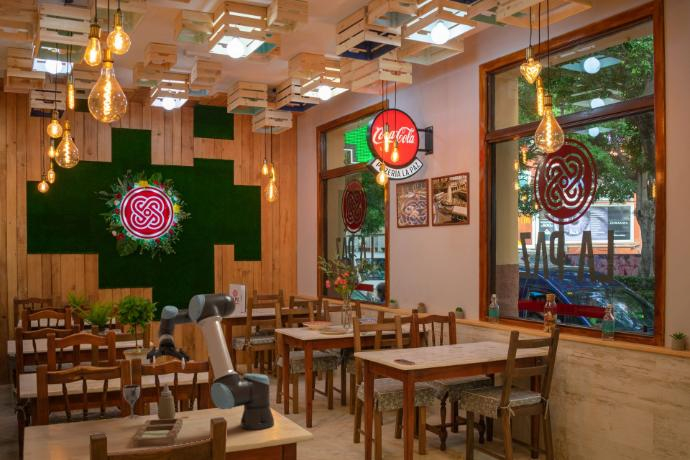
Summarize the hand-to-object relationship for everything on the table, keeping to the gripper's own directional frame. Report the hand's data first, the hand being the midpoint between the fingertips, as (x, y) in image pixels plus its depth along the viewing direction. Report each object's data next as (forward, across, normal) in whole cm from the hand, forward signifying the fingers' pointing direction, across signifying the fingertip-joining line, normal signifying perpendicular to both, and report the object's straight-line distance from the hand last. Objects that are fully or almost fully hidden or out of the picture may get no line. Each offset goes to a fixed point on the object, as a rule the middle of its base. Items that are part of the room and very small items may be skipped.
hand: (169, 366), depth 307 cm
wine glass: (-9, +12, -34) cm, 37 cm away
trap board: (+28, +3, -18) cm, 34 cm away
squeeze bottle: (+8, -2, -25) cm, 27 cm away
